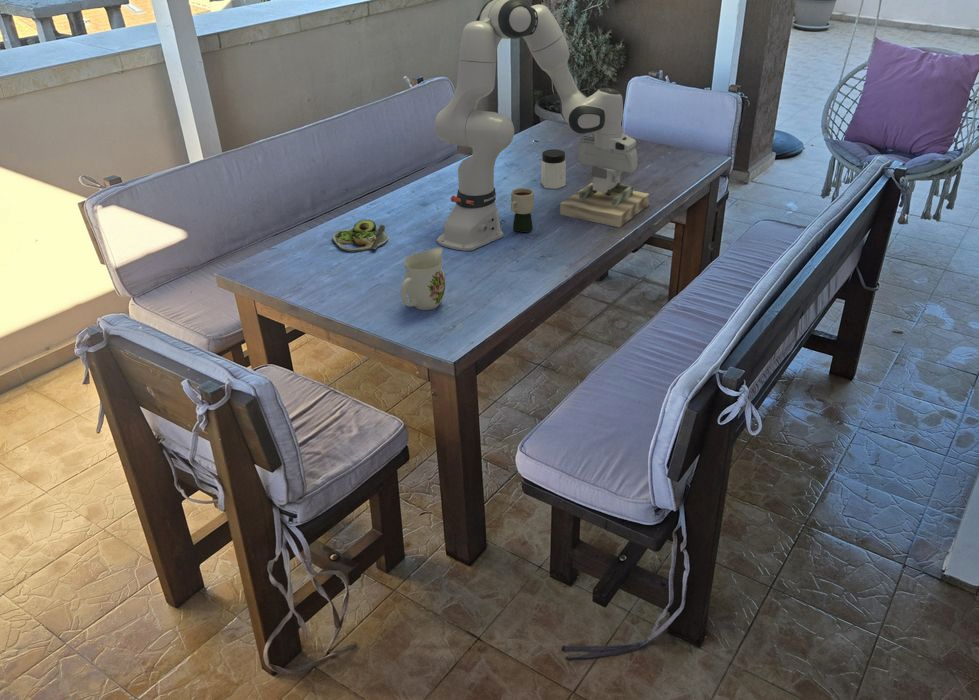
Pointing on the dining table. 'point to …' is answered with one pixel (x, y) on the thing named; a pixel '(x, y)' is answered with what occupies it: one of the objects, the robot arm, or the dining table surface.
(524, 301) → the dining table surface
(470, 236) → the robot arm
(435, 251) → the pitcher
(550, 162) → the jar
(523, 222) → the character mug
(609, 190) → the grey boxy block
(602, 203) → the dock
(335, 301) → the dining table surface
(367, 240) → the avocado toast plate
